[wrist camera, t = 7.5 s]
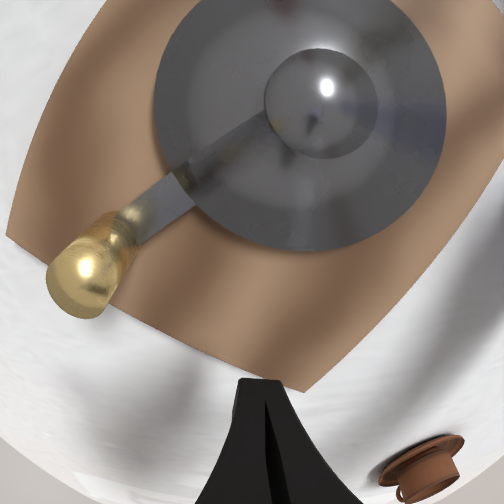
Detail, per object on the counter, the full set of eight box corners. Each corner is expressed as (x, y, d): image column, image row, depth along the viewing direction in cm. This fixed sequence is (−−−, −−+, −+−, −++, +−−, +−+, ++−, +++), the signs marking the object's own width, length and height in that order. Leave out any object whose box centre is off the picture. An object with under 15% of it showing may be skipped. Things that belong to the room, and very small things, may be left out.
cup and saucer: (436, 460, 31) (449, 491, 26) (364, 482, 31) (374, 519, 25) (473, 415, 26) (493, 451, 21) (392, 443, 26) (409, 488, 20)
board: (530, 76, 11) (543, 77, 10) (301, 379, 19) (304, 393, 18) (277, -136, 5) (279, -147, 4) (17, 226, 14) (5, 235, 13)
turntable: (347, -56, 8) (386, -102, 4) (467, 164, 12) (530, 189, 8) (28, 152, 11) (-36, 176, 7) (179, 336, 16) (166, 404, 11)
